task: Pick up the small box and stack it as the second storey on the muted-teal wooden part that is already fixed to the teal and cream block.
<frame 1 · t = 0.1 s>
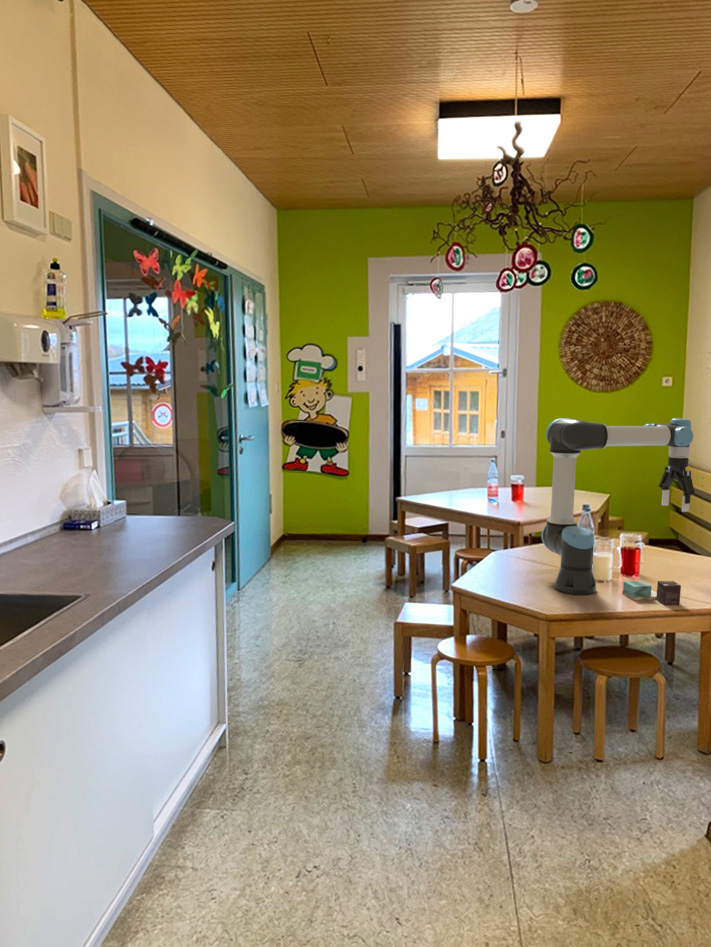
hand: (674, 508, 291), 28 cm above the table, fingers open, 13 cm apart
teal and cream block: (642, 596, 265), on the table
box: (667, 603, 258), on the table
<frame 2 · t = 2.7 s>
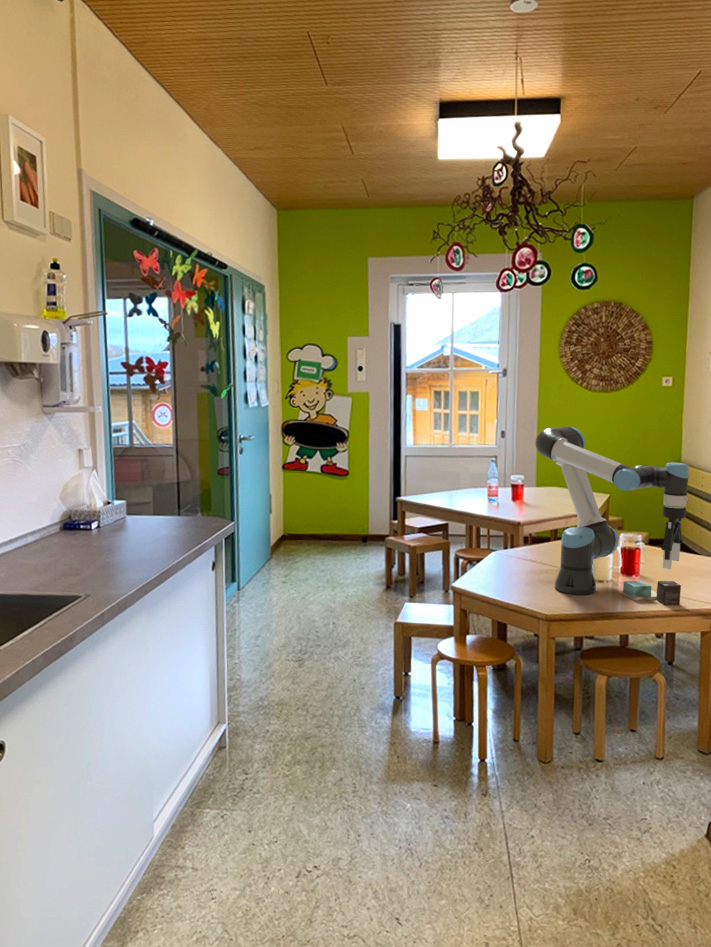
hand: (670, 564, 256), 14 cm above the table, fingers open, 13 cm apart
nothing on the table moved.
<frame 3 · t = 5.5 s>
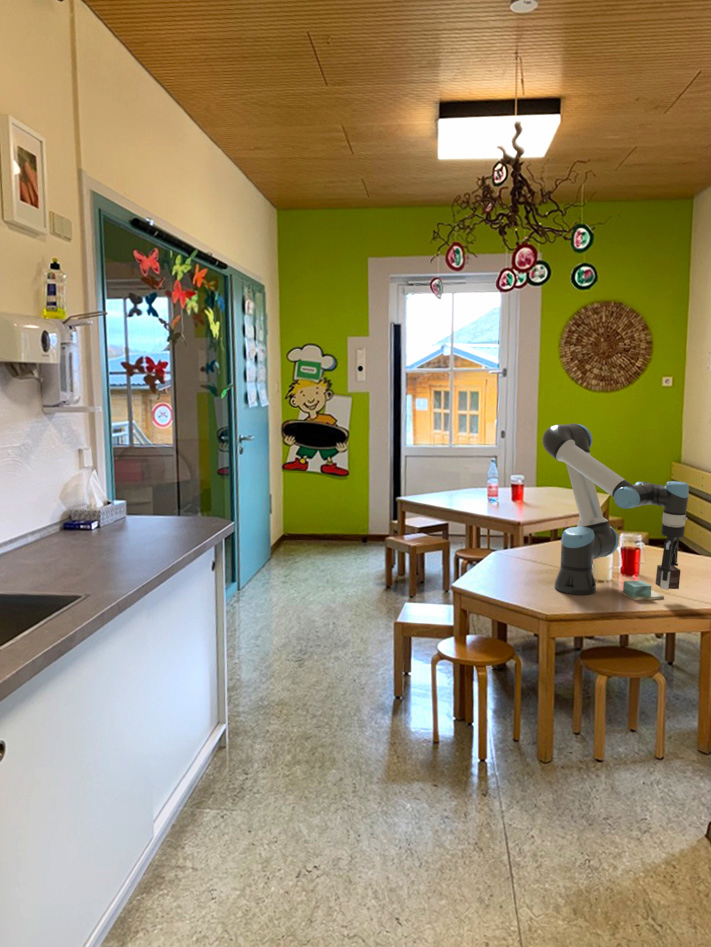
hand: (666, 585, 258), 6 cm above the table, fingers closed on box, 8 cm apart
box: (666, 587, 258), point 5 cm above the table, touching gripper
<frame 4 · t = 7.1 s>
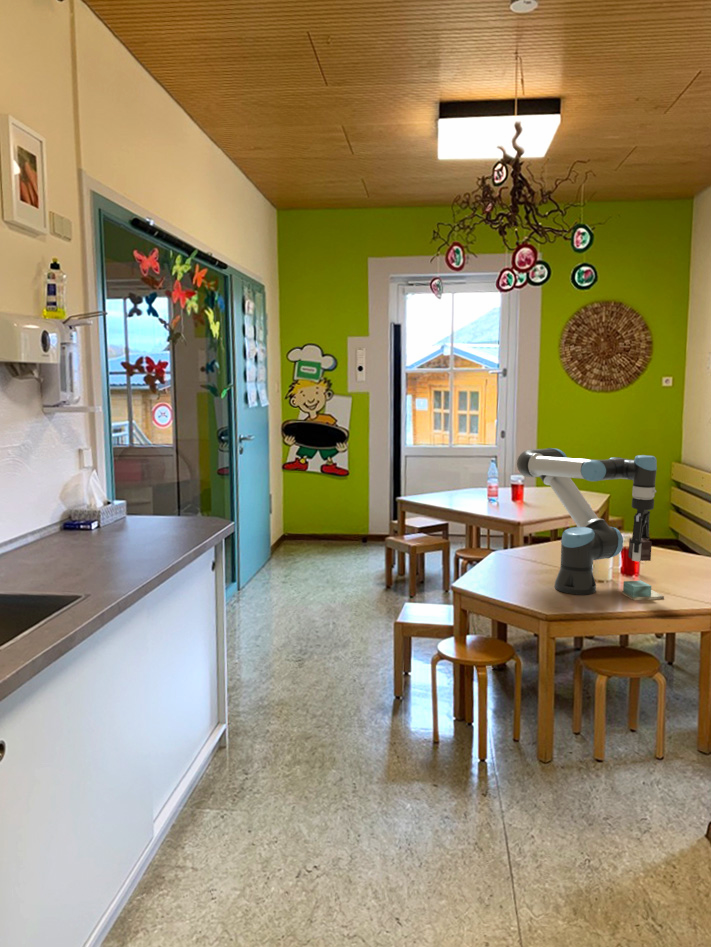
hand: (639, 558, 263), 15 cm above the table, fingers closed on box, 8 cm apart
box: (639, 559, 263), point 14 cm above the table, touching gripper
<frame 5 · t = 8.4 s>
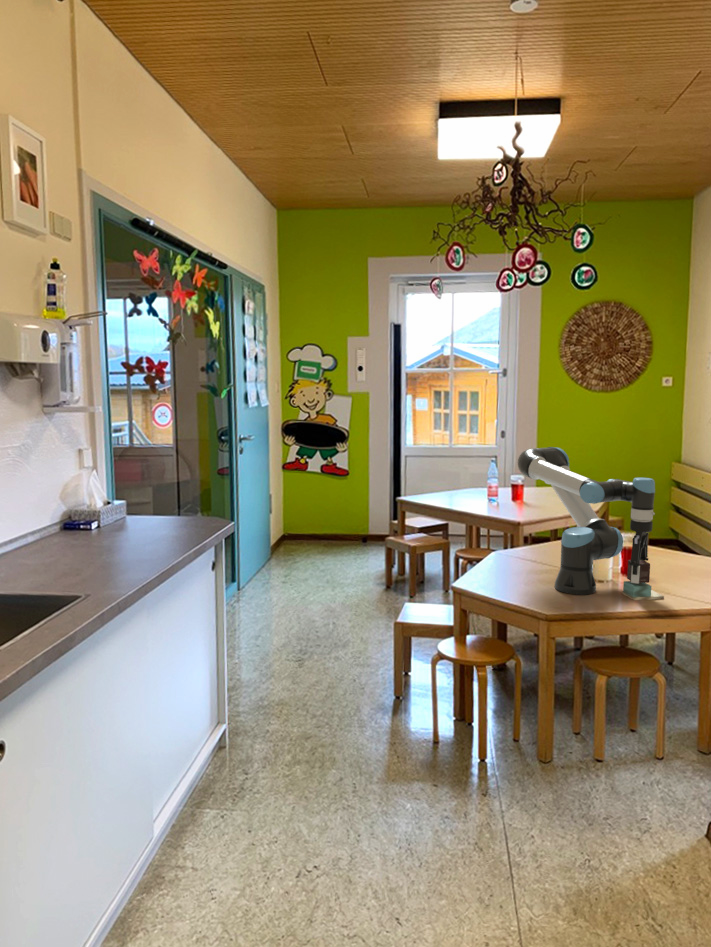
hand: (637, 580, 264), 6 cm above the table, fingers closed on box, 8 cm apart
box: (637, 581, 264), point 6 cm above the table, touching gripper
when the fingers open (5 cm above the table, at t = 9.1 s): box stays where it is, resting on teal and cream block.
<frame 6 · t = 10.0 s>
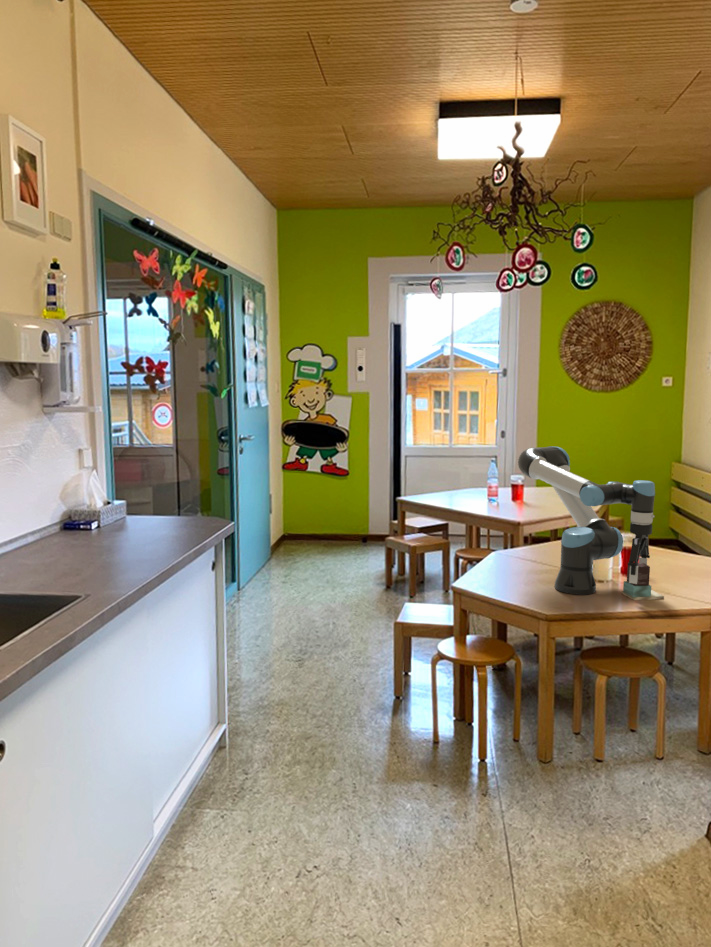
hand: (637, 579, 264), 7 cm above the table, fingers open, 13 cm apart
box: (637, 584, 264), point 5 cm above the table, touching teal and cream block
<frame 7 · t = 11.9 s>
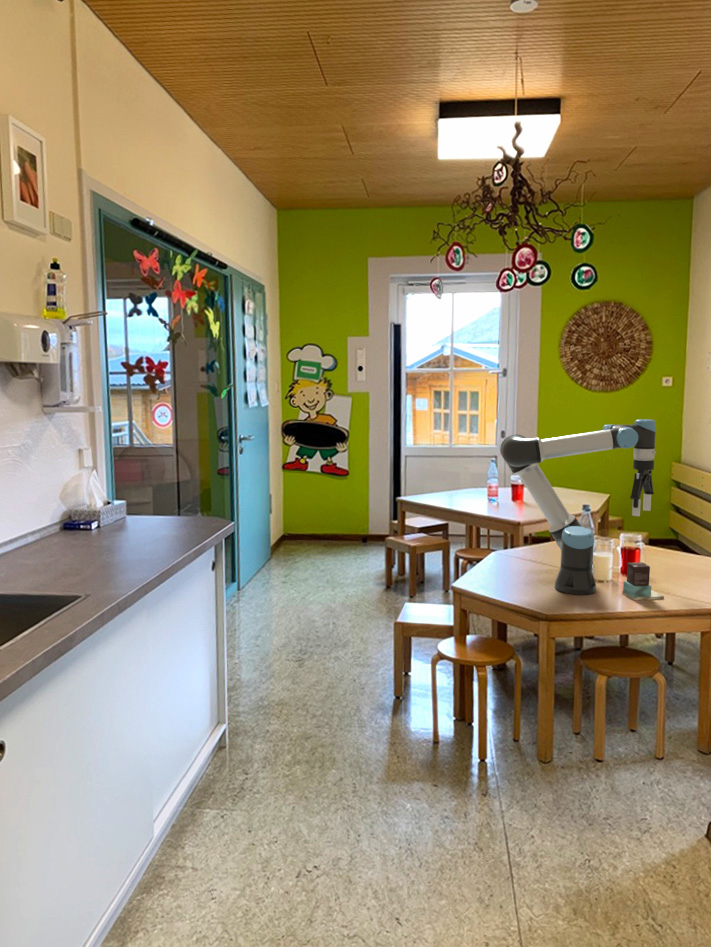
hand: (641, 513, 279), 28 cm above the table, fingers open, 13 cm apart
nothing on the table moved.
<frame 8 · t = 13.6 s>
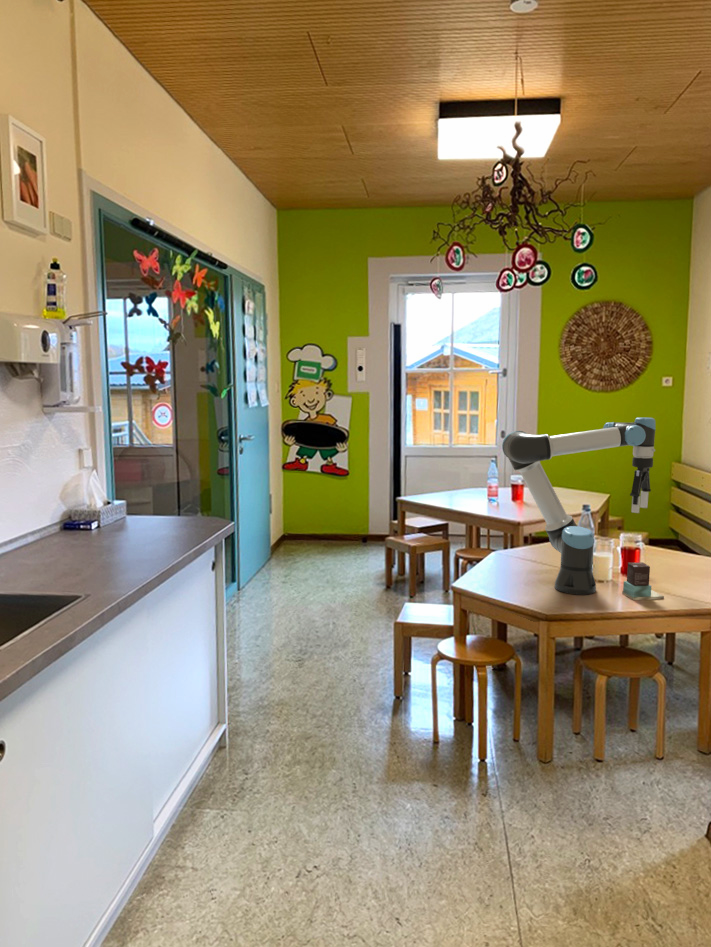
hand: (639, 510, 282), 29 cm above the table, fingers open, 13 cm apart
nothing on the table moved.
at the end: box 0.1 cm from the target spot, point 4.8 cm above the table; box tilted 0°; the gripper is holding nothing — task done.
